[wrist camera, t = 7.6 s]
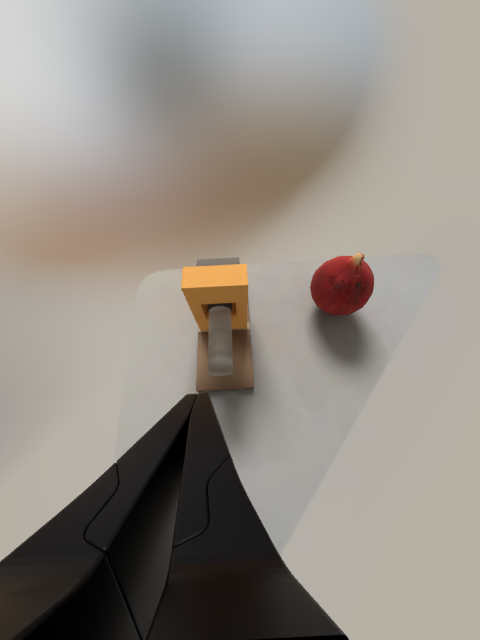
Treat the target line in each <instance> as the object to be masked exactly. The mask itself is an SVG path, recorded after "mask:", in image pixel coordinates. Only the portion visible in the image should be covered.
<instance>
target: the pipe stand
mask: <svg viewBox="0 0 480 640" xmlns="http://www.w3.org/2000/svg"><path fill="white" fill-rule="evenodd" d="M234 264H239V258H223V259H203V260H197V266H215V265H234ZM208 313H209V330H207V331H200V329H199V327H198V355H197V382H196V391H211V390H230V389H248V388H254V380H253V367H252V353H251V340H250V326H249V313H248V309H247V328H245V329H232V325H231V313H232V303H219V304H208Z"/></svg>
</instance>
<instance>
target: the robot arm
mask: <svg viewBox="0 0 480 640" xmlns="http://www.w3.org/2000/svg"><path fill="white" fill-rule="evenodd" d="M0 640H349V639H348V637H347V636H346V635H345V634H344V633H343V631H342V630H341V629H340V628H339V627H338V626H337V625H336V624H335V622H334V621H333V620H332V619H331V618H330V617H329V616H328V615H327V613H326V612H325V611H324V610H323V609H322V608H321V607H320V605H319V604H318V603H317V602H316V601H315V600H314V599H313V597H312V596H311V595H310V594H309V593H308V592H307V591H306V590H305V589H304V587H303V586H302V585H301V584H300V583H299V582H298V580H297V579H296V578H295V577H294V576H293V575H292V573H291V572H290V570H289V569H288V568H287V566H286V565H285V563H284V561H283V560H282V558H281V557H280V555H279V553H278V552H277V550H276V548H275V546H274V544H273V543H272V541H271V539H270V537H269V535H268V533H267V531H266V530H265V528H264V526H263V524H262V522H261V520H260V518H259V516H258V515H257V513H256V511H255V509H254V507H253V505H252V503H251V501H250V500H249V498H248V496H247V493H246V491H245V489H244V487H243V485H242V483H241V481H240V479H239V476H238V474H237V471H236V469H235V466H234V463H233V460H232V458H231V455H230V452H229V449H228V447H227V444H226V441H225V438H224V435H223V433H222V430H221V427H220V424H219V421H218V419H217V416H216V413H215V410H214V407H213V404H212V402H211V399H210V396H209V394H208V393H201V394H198V395H197V394H187V395H186V396H184V397H183V398H182V399H181V400H180V401H179V402H178V403H177V404H176V405H175V406H174V407H173V408H172V409H171V410H170V411H169V412H168V413H167V414H166V415H165V416H164V417H162V418H161V419H160V420H159V421H158V422H157V423H156V424H155V425H154V426H153V427H152V428H151V429H150V430H149V431H148V432H147V433H146V434H145V435H144V436H143V437H141V438H140V439H139V440H138V441H137V442H136V443H135V444H134V445H133V446H132V447H131V448H130V449H129V450H128V451H127V452H126V453H125V454H124V455H123V456H122V457H121V458H119V459H118V460H117V464H116V463H114V464H113V465H112V466H111V467H110V468H109V469H108V470H107V471H106V472H105V473H104V474H103V475H102V476H100V477H99V478H98V479H97V480H96V481H95V482H94V483H93V484H92V485H91V486H89V487H88V488H87V489H86V490H85V491H84V492H83V493H82V494H80V495H79V496H78V497H77V498H76V499H75V500H73V501H72V502H71V503H70V504H69V505H68V506H66V507H65V508H64V509H63V510H62V511H61V512H59V513H58V514H57V515H56V516H55V517H54V518H52V519H51V520H50V521H49V522H47V523H46V524H45V525H44V526H43V527H41V528H40V529H39V530H38V531H37V532H35V533H34V534H33V535H32V536H31V537H29V538H28V539H27V540H26V541H25V542H23V543H22V544H21V545H20V546H19V547H17V548H16V549H15V550H14V551H13V552H11V553H10V554H9V555H8V556H7V557H5V558H4V559H3V560H2V561H1V562H0Z"/></svg>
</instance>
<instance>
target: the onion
mask: <svg viewBox="0 0 480 640" xmlns="http://www.w3.org/2000/svg"><path fill="white" fill-rule="evenodd" d="M363 259H364V255H363V254H362V253H358V254H357V255H354V256H339V257H336V258H333V259H331V260H329V261H326V262H325V263H324V264H322V265H321V266H320V267H319V268H318V269H317V270H316V272H315V273H314V275H313V278H312V282H311V287H310V289H311V295H312V298H313V300H314V302H315V303H316V305H317V306H318V307H319V308H320V309H321V310H323V311H324V312H326V313H329V314H331V315H349V314H351V313H353V312H355V311H357V310H359V309H361V308H363V306H364V305H365V304H366V303H367V301H368V300H369V298H370V297H371V295H372V292H373V287H374V276H373V273H372V271H371V268H370V267H369V265H368V264H367V263H366V262H365V261H364V260H363Z"/></svg>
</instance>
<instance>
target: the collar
mask: <svg viewBox="0 0 480 640" xmlns="http://www.w3.org/2000/svg"><path fill="white" fill-rule="evenodd" d="M181 289H182V291H183V293H184V296H185V298H186V300H187V302H188V304H189V307H190V309H191V311H192V313H193V315H194V318H195V320H196V322H197V324H198V327H199V329H200V331H207V330H209V313H208V304H219V303H232V313H231V325H232V329H245V328H247V309H248V277H247V265H246V264H234V265H215V266H195V267H183V273H182V285H181Z"/></svg>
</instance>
